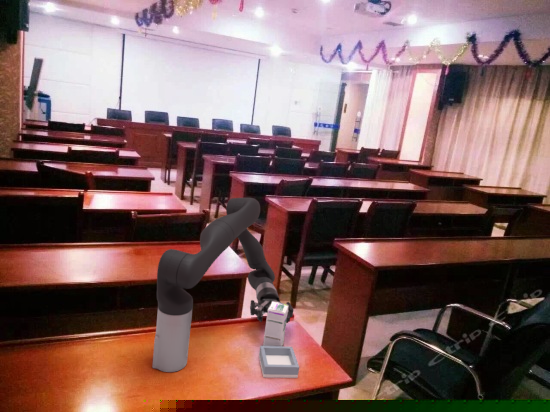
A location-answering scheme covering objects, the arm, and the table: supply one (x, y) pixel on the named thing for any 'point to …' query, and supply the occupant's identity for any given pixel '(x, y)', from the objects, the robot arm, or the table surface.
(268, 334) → the syrup box
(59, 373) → the table surface
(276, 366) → the collar plate
